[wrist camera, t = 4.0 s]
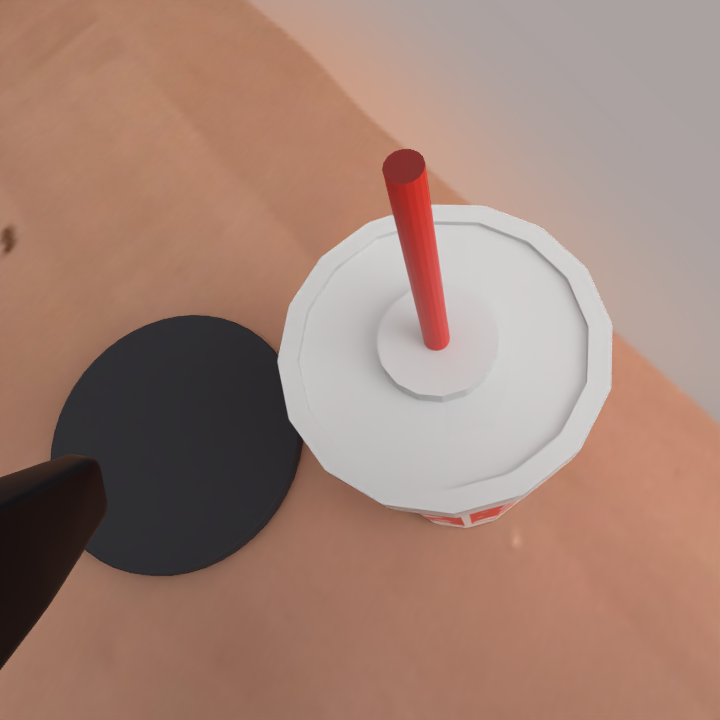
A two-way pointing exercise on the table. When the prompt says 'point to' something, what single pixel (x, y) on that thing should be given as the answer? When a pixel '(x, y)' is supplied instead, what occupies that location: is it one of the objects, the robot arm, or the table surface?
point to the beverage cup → (445, 356)
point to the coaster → (182, 443)
